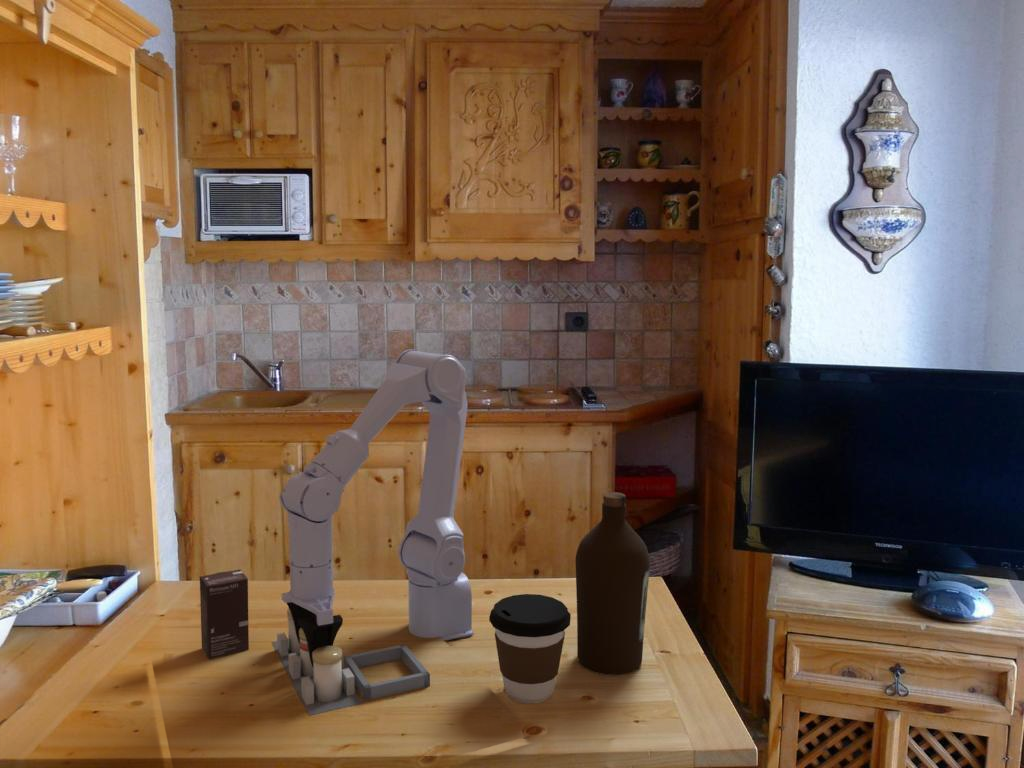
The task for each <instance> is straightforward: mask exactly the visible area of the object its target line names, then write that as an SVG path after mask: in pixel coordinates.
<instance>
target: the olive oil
mask: <svg viewBox="0 0 1024 768" xmlns="http://www.w3.org/2000/svg"><path fill="white" fill-rule="evenodd" d="M602 498H603V502H602V503H601V505H602V506H601V520H600V521H599V522H598V523H597V524H596V525H595V526H594V527H593V528H591V530H589V531H588V532H587V534H585V536H584V537H583V538H582V539H581V540H580V542H579V545H578V547H577V550H576V554H575V583H576V585H575V586H576V587H575V588H576V591H575V592H576V623H577V625H576V626H577V627H576V629H577V630H576V631H577V632H576V633H577V634H576V635H577V636H576V637H577V640H576V641H577V643H576V644H577V649H576V650H577V651H576V652H577V653H576V654H577V661H578V663H579V665H581V667H583V668H585V669H586V670H588V671H590V672H593V673H597V674H601V675H607V676H620V675H626V674H630V673H633V672H635V671H636V670H638V669H640V667H641V665H642V662H643V651H644V636H645V625H646V622H645V621H646V611H647V603H648V602H647V600H648V592H649V591H648V590H649V578H650V570H651V569H650V568H651V561H650V554H649V551H648V550H649V549H648V547H647V545H646V543H645V541H644V540H643V539H642V538H641V536H640V535H638V533H637V531H635V530H634V529H633V527H632V526H630V524H629V523H628V522H627V520H626V517H627V516H626V513H627V504H626V498H627V496H626V494H624V493H622V492H616V491H613V492H612V491H610V492H609V491H608V492H605V493H604V494H603V495H602Z"/></svg>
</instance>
